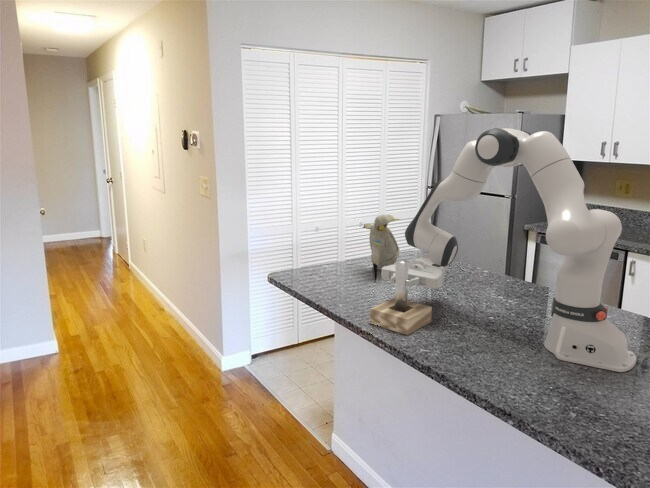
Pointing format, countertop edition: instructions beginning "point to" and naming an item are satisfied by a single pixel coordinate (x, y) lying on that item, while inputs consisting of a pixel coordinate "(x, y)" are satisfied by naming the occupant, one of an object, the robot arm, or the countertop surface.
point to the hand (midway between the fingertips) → (400, 282)
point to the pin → (401, 285)
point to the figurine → (382, 243)
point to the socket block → (400, 316)
